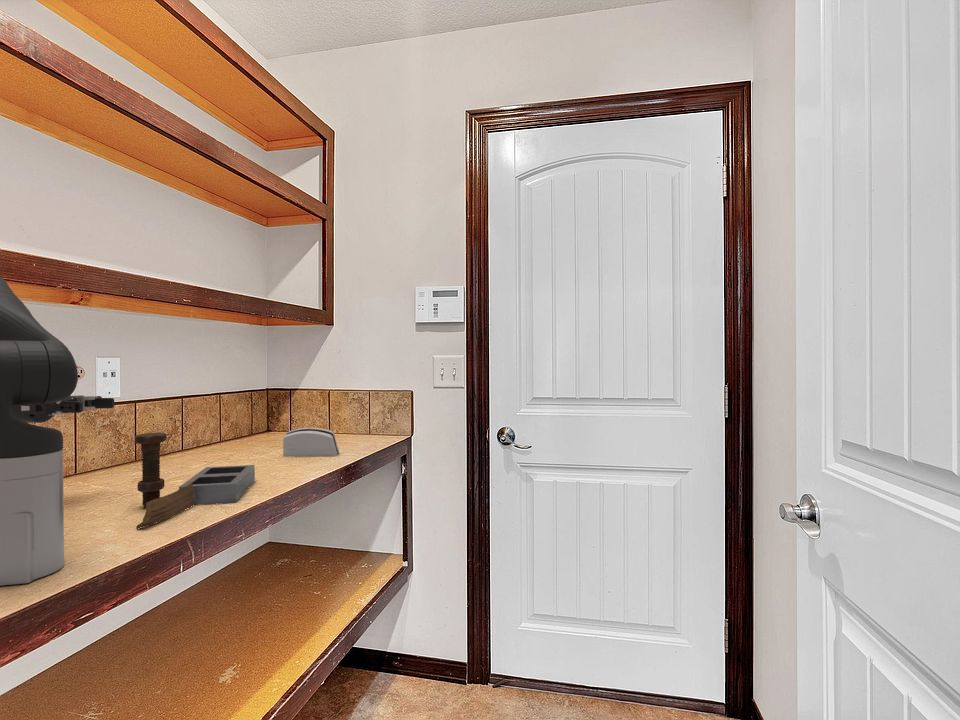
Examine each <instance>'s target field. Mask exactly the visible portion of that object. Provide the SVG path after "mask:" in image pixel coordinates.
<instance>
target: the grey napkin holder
mask: <svg viewBox="0 0 960 720" xmlns="http://www.w3.org/2000/svg"><path fill="white" fill-rule="evenodd" d="M335 435H336V434H335V433H334V431H332V430H330V429H326V428H320V427H301V428H296V429H293V430H290V431H287V432H286V433H285V435H284V436H283V439H282V440H283V445H282V453H283V454H282V457H283V456H296V457H338V454H340V450H339V449H340V448H339V447H338V444H337V439H336V436H335Z"/></svg>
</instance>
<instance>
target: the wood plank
mask: <svg viewBox="0 0 960 720" xmlns="http://www.w3.org/2000/svg"><path fill="white" fill-rule="evenodd" d="M193 492H194V491H193V484H192V483H190V484H188V485H187V486H186V487H184V488H182V489H180V490H179V489H178V490H176V491H174V492H172V493H169V494H167V495H164V496H160V498H157V499H154V500H151V501H149V502H147V503H146V508H145V513H144V515H143V519H142V522H140V523H139V524H137V525H136V528H135V529H138V528H140V527H142V528H144V527H143V526H146V527H148V526H147V525H149V526H152V525H155V524H154V523H156V522H159V521H161V522H163V521H166V520H168V519H171V518H170V517H172V516H174V515H176V514H177V515H179V514H180V512H181V511H183V512H185V511H186V510H185V509H187V508H189V509H191V508H192V507H191V506H193V505H194V498H195V495H194V493H193ZM194 506H195V505H194ZM194 506H193V507H194ZM190 507H191V508H190ZM184 510H185V511H184ZM187 510H188V509H187ZM178 513H179V514H178ZM181 513H182V512H181ZM177 515H176V516H177ZM174 517H175V516H174ZM167 518H168V519H167ZM172 518H173V517H172ZM165 519H166V520H165ZM162 520H163V521H162ZM159 523H160V522H159ZM151 524H152V525H151ZM156 524H157V523H156ZM140 529H141V528H140ZM138 530H139V529H138Z"/></svg>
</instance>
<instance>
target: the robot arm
mask: <svg viewBox="0 0 960 720" xmlns="http://www.w3.org/2000/svg"><path fill="white" fill-rule="evenodd" d="M78 371H79V370H78V365H77V363H76V361H75V359H74V355H73V354H72V352H71V351H70V349H69V348H68V347H67V345H65V343H63V342H62V341H61V340H60V339H58V338H57V337H56V336H55V335H53V334H52V333H51V332H49V331H48V330H47V329H45V328H44V327H43V326H42V325H41V324H40V322H38V320H37V319H36V318H35V317H34V316H33V315H32V312H30V310H29V308H28V307H27V306H26V305H25V304H24V302H23V301H22V300H21V299H20V298H19V297H18V296H17V295H16V294H15V292H14V291H13V290H12V289H11V287H10V286H9V284H8V283H7V280H6V279H5V280H4V279H3V278H2V277H0V586H7V585H8V586H9V585H10V586H11V585H20V584H28V583H31V582H33V581H35V580H37V579H39V578H43V577H46V576H48V575H51V574H54V573H55V572H57V571H59V570H60V569H62V568H63V567H64V565H65V522H64V521H65V519H64V518H65V517H64V515H65V513H64V512H65V510H64V509H65V508H64V504H65V502H64V493H65V492H64V435H63V432H62V431H61V430H59V429H56V428H53V427H46V426H41V425H36V424H43V423H46V422H48V421H50V420H51V419H52V418H53V417H54V416H58V415H64V414H79V413H82V412H84V411H85V410H92V409H93V410H97V409H113V408H115V399H114V398H113V397H102V396H100V395H97V396H89V395H88V396H85V395H84V394H83V395H82V394H81V395H80V394H79V395H77V394H76V395H72V394H73V393H74V392H75V390H76V389H77V384H78V379H79V373H78Z"/></svg>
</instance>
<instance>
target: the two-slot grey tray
mask: <svg viewBox="0 0 960 720" xmlns="http://www.w3.org/2000/svg"><path fill="white" fill-rule="evenodd" d="M255 472H256V469H255V464H247V465H246V464H245V465H227V466H222V465H221V466H206V467H204V468H203V469H202V470H200V471H199V472H198V473H196V474H195V475H193V476H192V477H191V478H189V479H188V480H187V481H185V482H183V483H182V484H181V485H179V486H178V490H180V489H182V488H184V487H186V486H187V485H188V484H190V483H192V484H193V491H194V492H193V493H194V495H195V498H194V506H198V505H197V504H206V505H217V504H216V503H222V504H235V503H238V501H239V500H240V499H241V498H242V497H241V496H244V494H245V493H246V492H247V491H246V490H248V489H250V487H251V486H252V485H253V484H254V483H255V480H256V477H255V476H256V475H255V474H256V473H255ZM252 483H253V484H252ZM245 491H246V492H245Z"/></svg>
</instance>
